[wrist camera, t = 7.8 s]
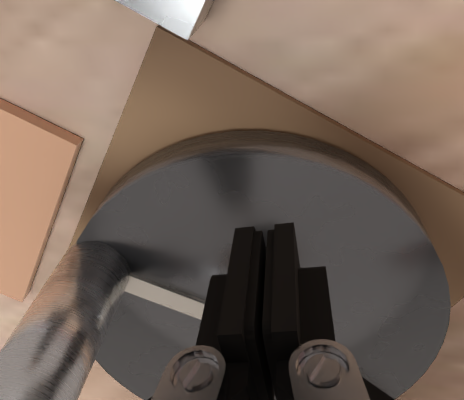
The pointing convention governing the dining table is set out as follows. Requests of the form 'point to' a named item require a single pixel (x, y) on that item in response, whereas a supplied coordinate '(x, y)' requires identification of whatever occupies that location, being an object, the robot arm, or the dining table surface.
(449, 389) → the dining table surface
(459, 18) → the dining table surface
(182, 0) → the collar
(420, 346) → the handwheel
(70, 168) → the pad
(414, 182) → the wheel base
